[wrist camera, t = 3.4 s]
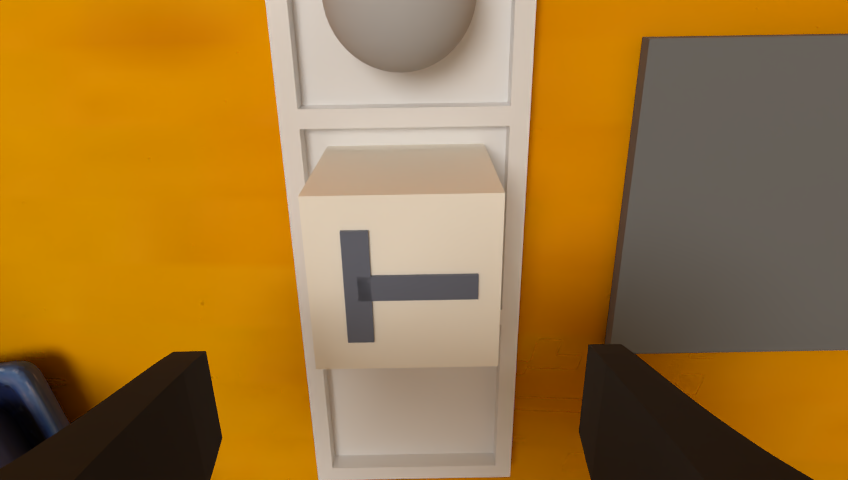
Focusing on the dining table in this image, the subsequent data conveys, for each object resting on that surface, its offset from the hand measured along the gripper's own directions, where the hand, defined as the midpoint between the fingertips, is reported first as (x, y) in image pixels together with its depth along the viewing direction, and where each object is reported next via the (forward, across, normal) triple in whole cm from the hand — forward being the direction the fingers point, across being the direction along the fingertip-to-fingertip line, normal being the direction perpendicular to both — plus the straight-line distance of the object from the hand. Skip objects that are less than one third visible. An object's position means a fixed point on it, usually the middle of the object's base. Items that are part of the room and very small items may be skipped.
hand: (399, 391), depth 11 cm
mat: (+10, -13, 0) cm, 16 cm away
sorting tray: (+10, 0, 0) cm, 10 cm away
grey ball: (+9, 0, -7) cm, 12 cm away
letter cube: (+9, 0, 0) cm, 9 cm away
